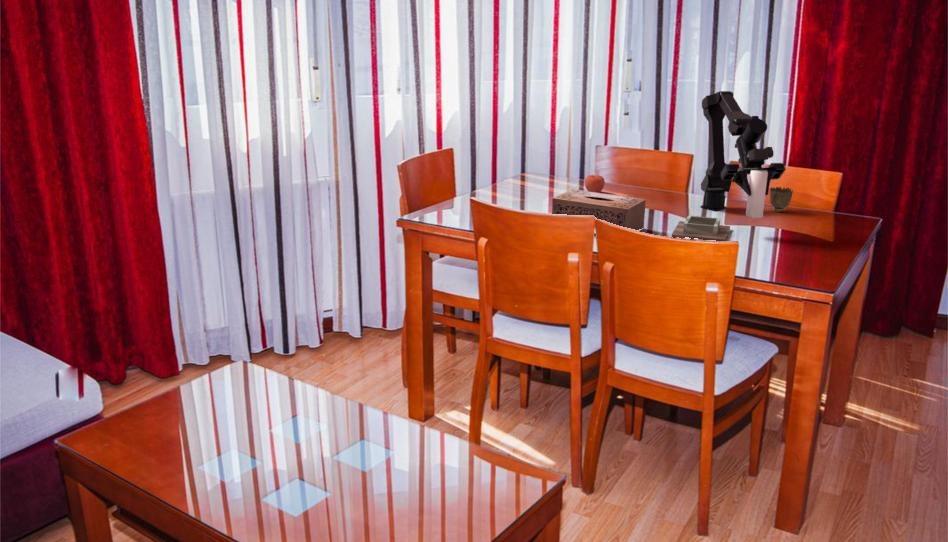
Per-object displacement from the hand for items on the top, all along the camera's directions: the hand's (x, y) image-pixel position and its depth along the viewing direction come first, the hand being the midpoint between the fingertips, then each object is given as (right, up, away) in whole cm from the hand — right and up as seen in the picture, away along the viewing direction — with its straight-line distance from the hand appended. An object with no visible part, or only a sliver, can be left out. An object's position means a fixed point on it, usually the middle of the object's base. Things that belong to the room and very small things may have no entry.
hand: (758, 195), depth 257 cm
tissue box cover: (-47, -10, +14) cm, 50 cm away
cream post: (0, -6, +4) cm, 7 cm away
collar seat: (-16, -11, +8) cm, 21 cm away
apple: (-42, +6, +58) cm, 72 cm away
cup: (+18, -3, +33) cm, 38 cm away
